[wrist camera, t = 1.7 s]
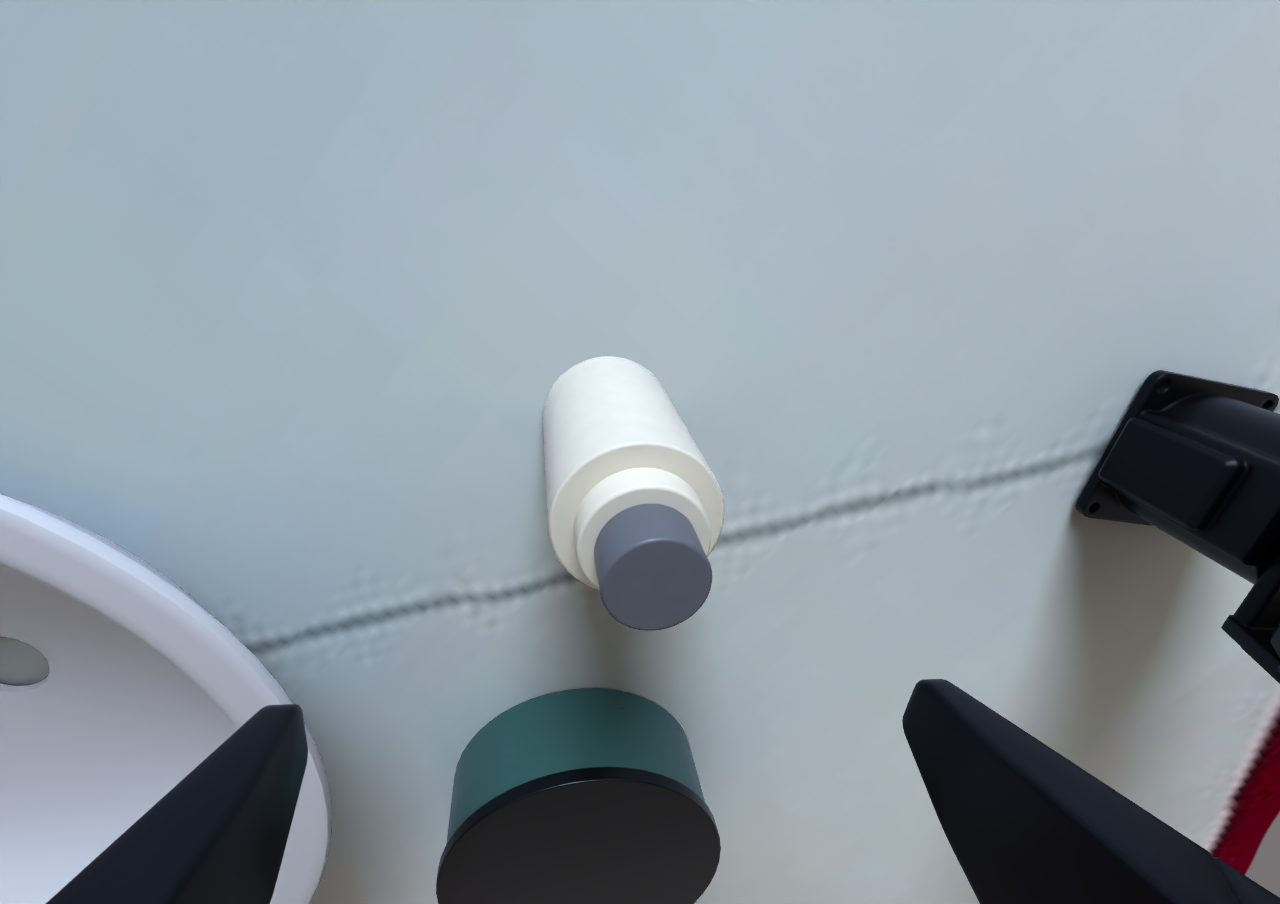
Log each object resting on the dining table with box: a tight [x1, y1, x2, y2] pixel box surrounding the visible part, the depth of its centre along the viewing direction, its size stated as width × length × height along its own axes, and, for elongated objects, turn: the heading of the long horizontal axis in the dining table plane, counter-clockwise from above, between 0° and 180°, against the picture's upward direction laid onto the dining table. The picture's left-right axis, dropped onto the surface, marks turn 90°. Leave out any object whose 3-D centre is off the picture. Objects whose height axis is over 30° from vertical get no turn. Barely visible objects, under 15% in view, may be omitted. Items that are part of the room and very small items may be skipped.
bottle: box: [543, 357, 724, 630], centre depth 17 cm, size 4×4×10 cm
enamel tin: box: [436, 688, 721, 904], centre depth 27 cm, size 11×11×5 cm
